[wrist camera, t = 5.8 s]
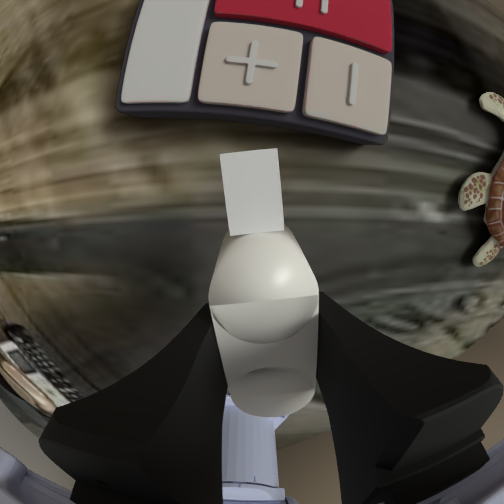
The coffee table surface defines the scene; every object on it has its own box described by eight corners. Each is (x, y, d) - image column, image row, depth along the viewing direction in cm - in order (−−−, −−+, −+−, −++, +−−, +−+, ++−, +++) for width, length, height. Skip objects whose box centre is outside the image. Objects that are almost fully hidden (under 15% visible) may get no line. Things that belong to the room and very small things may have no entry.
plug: (300, 355, 13) (313, 412, 9) (239, 361, 13) (237, 419, 9) (290, 147, 9) (312, 145, 6) (206, 156, 9) (184, 159, 6)
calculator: (394, 147, 12) (107, 111, 11) (361, 146, 16) (135, 118, 15) (398, -6, 9) (151, -44, 7) (371, 16, 13) (165, -14, 11)
